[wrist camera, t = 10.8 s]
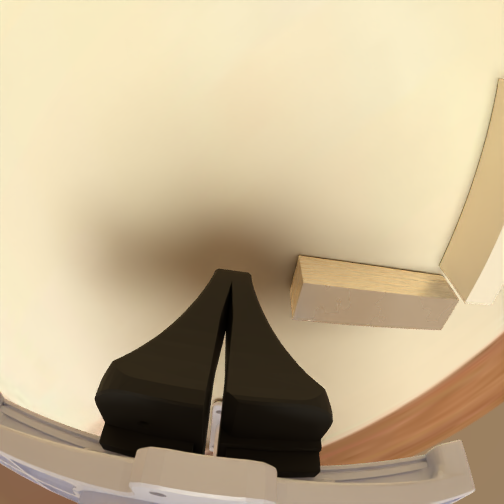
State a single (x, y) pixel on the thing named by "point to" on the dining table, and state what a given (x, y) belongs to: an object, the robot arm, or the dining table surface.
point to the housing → (481, 222)
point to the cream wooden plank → (369, 295)
